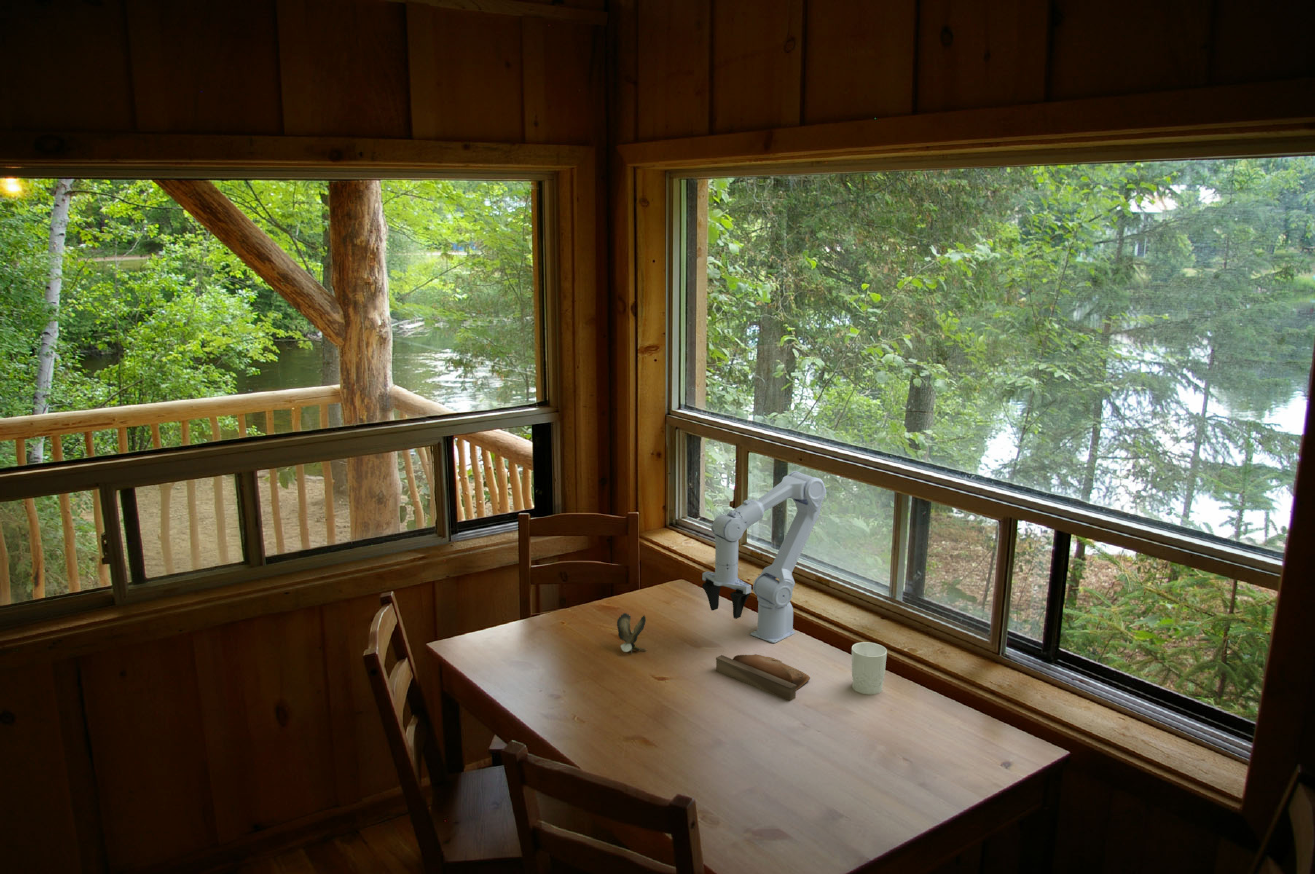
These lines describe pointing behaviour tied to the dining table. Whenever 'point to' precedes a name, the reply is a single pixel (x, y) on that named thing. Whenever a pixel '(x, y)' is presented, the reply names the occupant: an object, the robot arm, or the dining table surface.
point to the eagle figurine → (629, 632)
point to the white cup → (868, 667)
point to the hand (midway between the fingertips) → (725, 613)
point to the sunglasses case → (774, 668)
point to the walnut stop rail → (756, 677)
